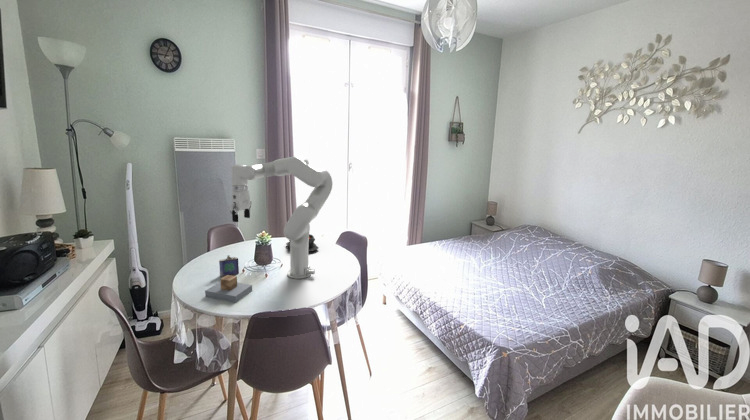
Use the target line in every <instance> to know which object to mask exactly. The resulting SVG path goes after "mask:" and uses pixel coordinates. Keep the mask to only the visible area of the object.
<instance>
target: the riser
mask: <svg viewBox="0 0 750 420" xmlns="http://www.w3.org/2000/svg"><path fill="white" fill-rule="evenodd" d="M251 292H253V284H248V283H242V282H237V287H235V288H234V289H232V290H231V291H228V290H223V289H221V282H220V281H219V282H216V284H215V285H212V286H211V287H208V288H207V289H206V290H204V294H205V296H204V297H205V298H209V299H215V300H220V301H225V300H226V301H225V302H231V303H232V302H233V303H237V302H239V301H240V300H242V299H243V298H244V297H246V296H247V295H248V294H250V293H251Z"/></svg>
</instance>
